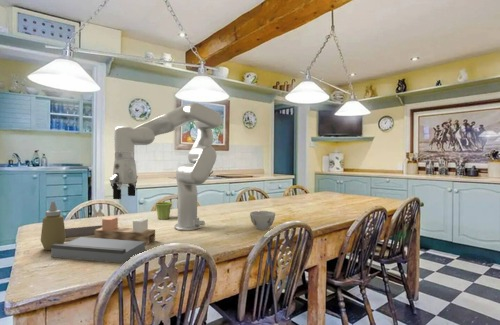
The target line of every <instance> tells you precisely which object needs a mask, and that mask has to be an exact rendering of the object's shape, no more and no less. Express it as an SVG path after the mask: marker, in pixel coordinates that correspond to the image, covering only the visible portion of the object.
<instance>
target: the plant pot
mask: <svg viewBox="0 0 500 325" xmlns="http://www.w3.org/2000/svg"><path fill="white" fill-rule="evenodd" d="M154 205H155V207H156V212H157V220H168V219H169V218H170V213H171V208H172V205H173V202H169V201H161V202H155V203H154Z"/></svg>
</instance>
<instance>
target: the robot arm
mask: <svg viewBox="0 0 500 325" xmlns="http://www.w3.org/2000/svg"><path fill="white" fill-rule="evenodd" d="M190 122H194V124H195V128H196V131H197V136H196V139H195V140H194V142H193V144H192V145H191V146H192V147H191V148H190V149H189V152H188V153H187V154H188V156H187V158H188V161H189V163H191V164H189V163H186V164H185V163H184V164H181V165H180V166H179V167H177V170H176V172H175V179H176V183H177V223H176V224H175V225H174V229H175V230H178V231H194V230H198V229H200V227H201V226H205V225H206V223H205V220H200V217H198V188H197V185H198V186H199V185H200V186H201V185H203V184H204V183H205V182H206V181H207V180H208V179H209V178H208V177H209V176H210V173H211V172H212V170H213V168H214V166H215V164H216V161H217V152H216V150H215V148H214V147H213V146H212V144H213V142H214V135H213V132H212V129H217V128H219V127H220V126H221V125H222V123H223V117H222V115H221V113H219V112H218V111H216V110H215V109H212V108H210V107H208V106H205V105H203V104H201V103H199V102H192V103H187V104H183V105H181V106H178V107H176V108H174V109H172V110H171V111H168V112H166V113H164V114H162V115H160V116H158V117H157V116H156V117H155V118H153V119H151V120H149V121H147V122H143V123H142V124H140V125H137V126H136V127H132V126H131V127H130V126H116V127H115V128H114V162H113V170H112V177H110V178H109V182H110V186H111V189H112V199H113V200H121V199H122V189H121V187H122V186H123V185H128V186H127V196H129V197H136V186H137V181H138V178H139V176H138V175H137V165H136V160H135V146H147V145H151V144H152V143H153V142H154V141H155V138H156V137H157V136H159V135H164V134H167V133H171V132H174V131H176V130H177V129H179V128H181V127H182V126H185V125H187V124H189V123H190Z"/></svg>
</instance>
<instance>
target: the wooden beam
mask: <svg viewBox="0 0 500 325" xmlns="http://www.w3.org/2000/svg"><path fill="white" fill-rule="evenodd" d="M95 238H101V239H115V240H129V241H143V242H145V246H149V245H150V242H155V241H156V229H149V228H148V230H146V231H144V232H142V233H140V232H133V227H119V226H118V228H116V229H114V230H111V231H110V230H102V228H99V229H96V230H95Z"/></svg>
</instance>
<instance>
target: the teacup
mask: <svg viewBox="0 0 500 325" xmlns="http://www.w3.org/2000/svg"><path fill="white" fill-rule="evenodd" d="M249 217H250V220H251V222H252V225H253V226H254V228H256V230H258V231H266V230H269V228H271V226H272V225H273V224H274V221H275V218H276V213H275V212H273V211H267V210H260V211H258V210H257V211H256V210H254V211H251V212H250V213H249Z"/></svg>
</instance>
